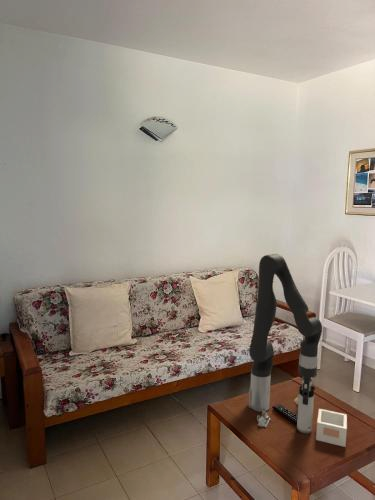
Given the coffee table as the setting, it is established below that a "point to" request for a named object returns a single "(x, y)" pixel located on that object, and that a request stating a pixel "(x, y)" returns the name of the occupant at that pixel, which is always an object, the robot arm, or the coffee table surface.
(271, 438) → the coffee table surface
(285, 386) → the coffee table surface
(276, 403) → the coffee table surface
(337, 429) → the socket
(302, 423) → the travel mug
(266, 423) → the house of cards
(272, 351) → the robot arm
